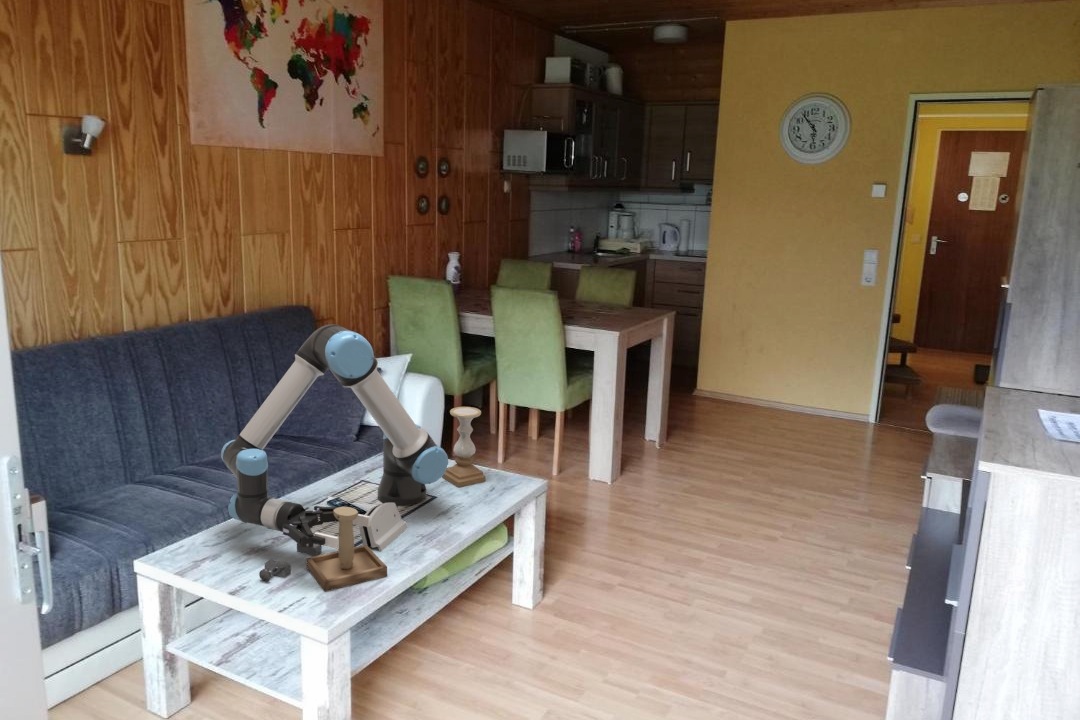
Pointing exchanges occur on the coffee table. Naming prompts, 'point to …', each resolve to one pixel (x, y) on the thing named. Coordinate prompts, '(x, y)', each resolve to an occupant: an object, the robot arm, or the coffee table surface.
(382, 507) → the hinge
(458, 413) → the candle holder
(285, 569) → the vise jaw outer
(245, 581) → the coffee table surface
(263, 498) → the robot arm
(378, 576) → the tray
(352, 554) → the handle
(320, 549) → the block
